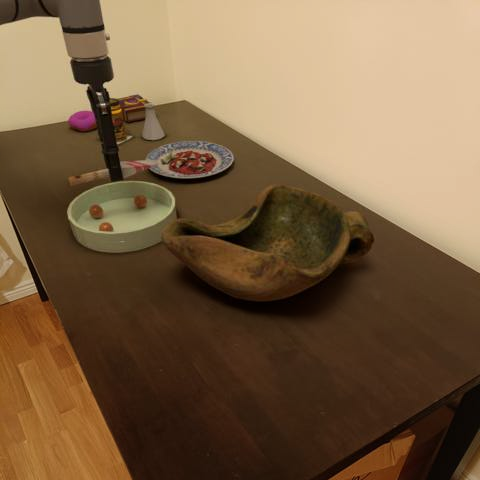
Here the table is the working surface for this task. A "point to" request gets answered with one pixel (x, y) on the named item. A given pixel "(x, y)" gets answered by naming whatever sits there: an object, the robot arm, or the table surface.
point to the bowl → (271, 244)
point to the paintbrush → (126, 167)
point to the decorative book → (133, 108)
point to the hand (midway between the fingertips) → (115, 175)
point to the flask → (152, 124)
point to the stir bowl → (122, 216)
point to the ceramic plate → (190, 159)
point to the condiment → (118, 121)
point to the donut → (82, 121)
